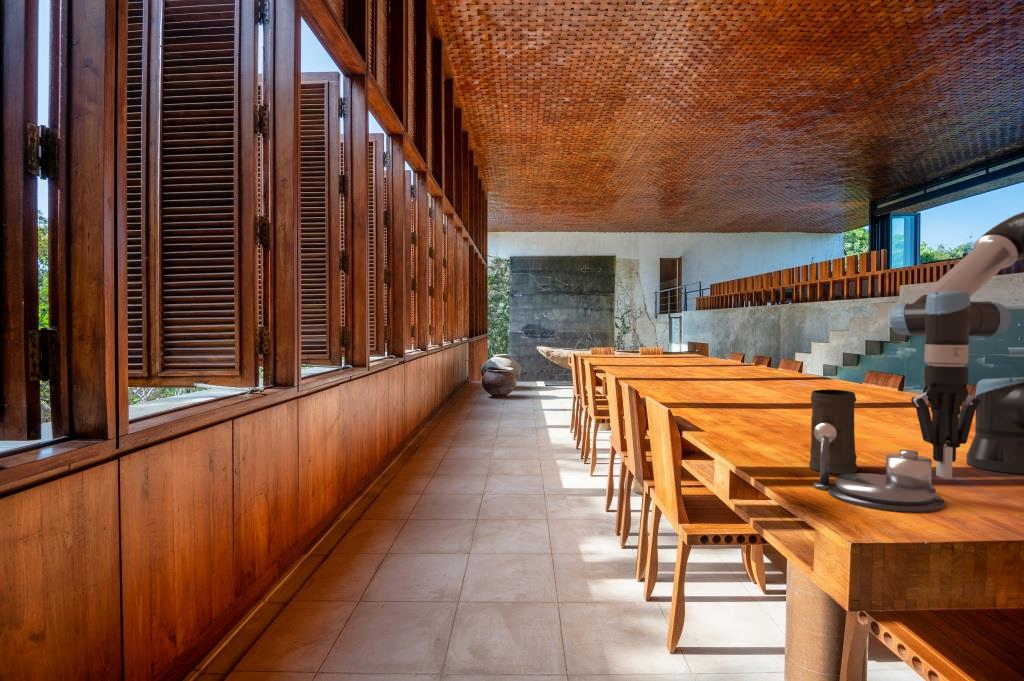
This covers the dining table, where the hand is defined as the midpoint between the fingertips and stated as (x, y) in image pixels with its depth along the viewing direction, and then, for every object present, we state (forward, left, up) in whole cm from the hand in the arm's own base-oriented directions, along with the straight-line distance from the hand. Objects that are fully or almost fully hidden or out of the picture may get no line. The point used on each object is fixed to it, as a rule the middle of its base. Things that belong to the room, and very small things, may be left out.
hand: (943, 476), depth 127 cm
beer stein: (+10, -26, -5) cm, 28 cm away
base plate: (+12, 0, -5) cm, 13 cm away
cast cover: (+7, 0, -2) cm, 7 cm away
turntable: (+11, -1, -4) cm, 12 cm away
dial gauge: (+21, -7, -5) cm, 23 cm away
